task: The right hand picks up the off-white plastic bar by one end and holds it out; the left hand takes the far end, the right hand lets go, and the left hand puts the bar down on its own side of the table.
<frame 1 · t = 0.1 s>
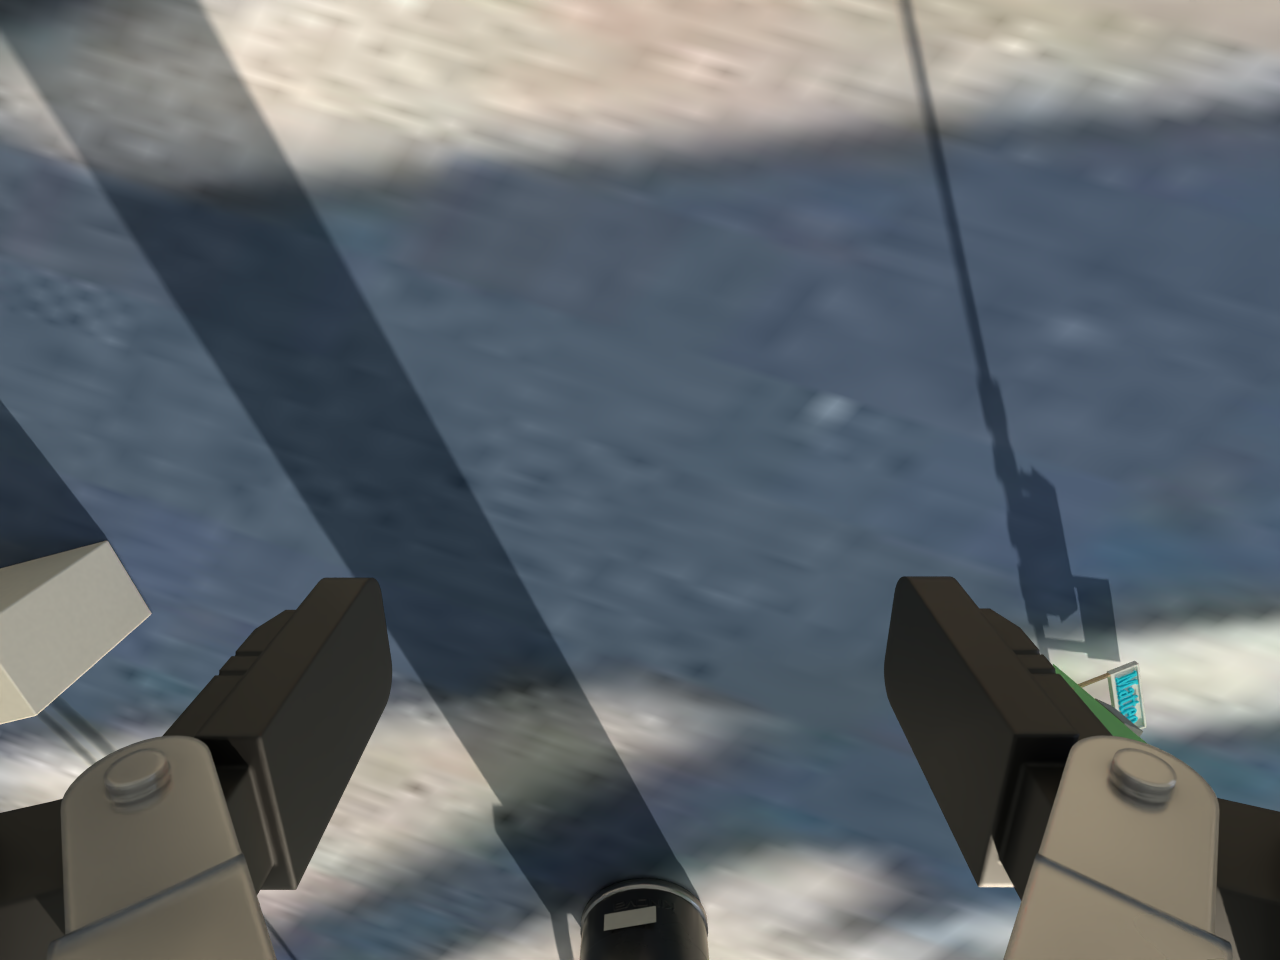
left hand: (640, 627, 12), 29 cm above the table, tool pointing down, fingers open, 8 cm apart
toy game set: (1261, 738, 49), on the table
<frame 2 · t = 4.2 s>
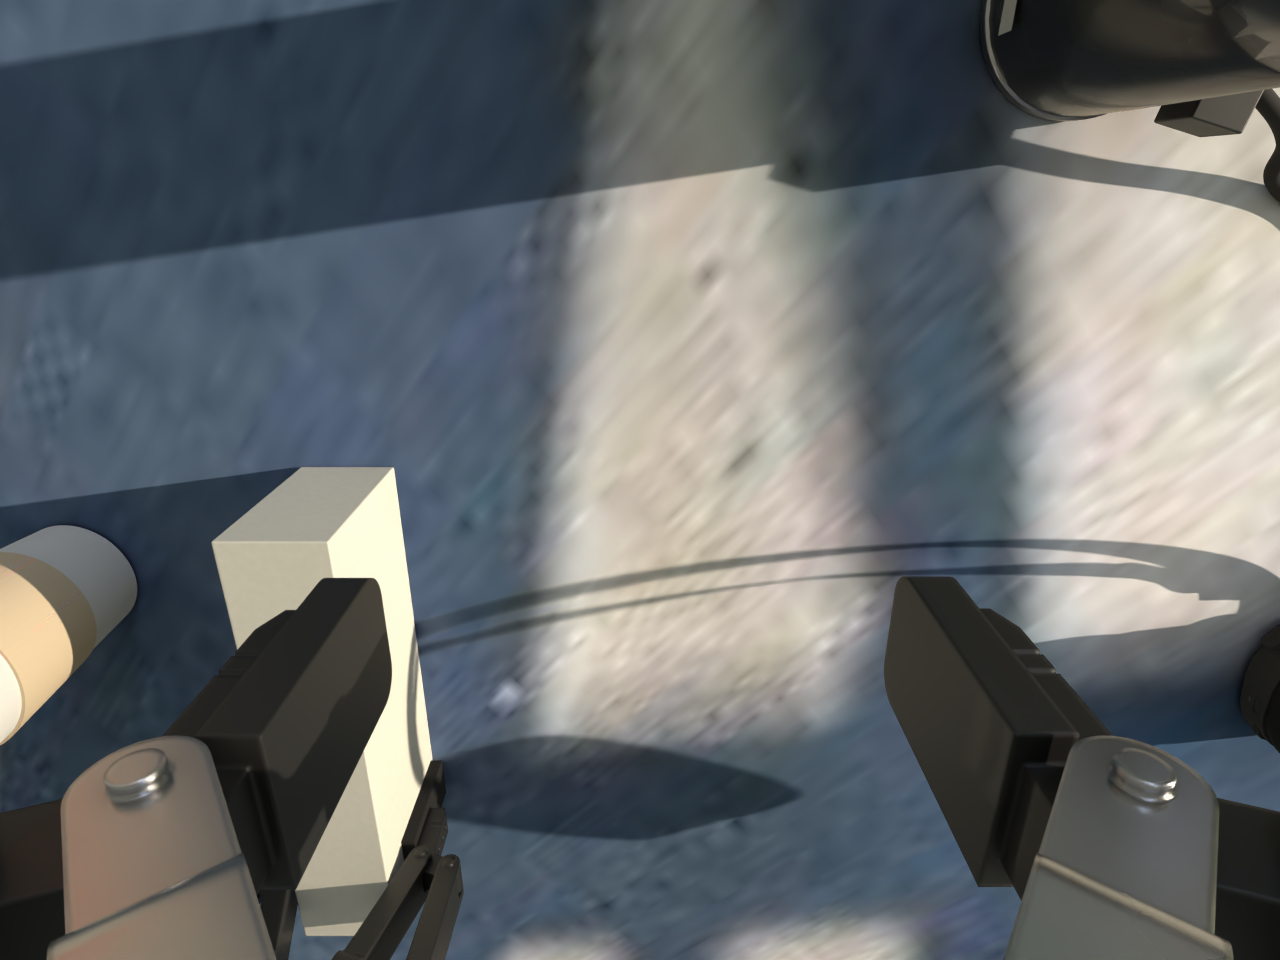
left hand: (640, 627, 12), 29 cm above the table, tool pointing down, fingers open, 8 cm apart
coffee cup: (81, 575, 44), on the table
bar: (377, 654, 46), on the table, touching right hand
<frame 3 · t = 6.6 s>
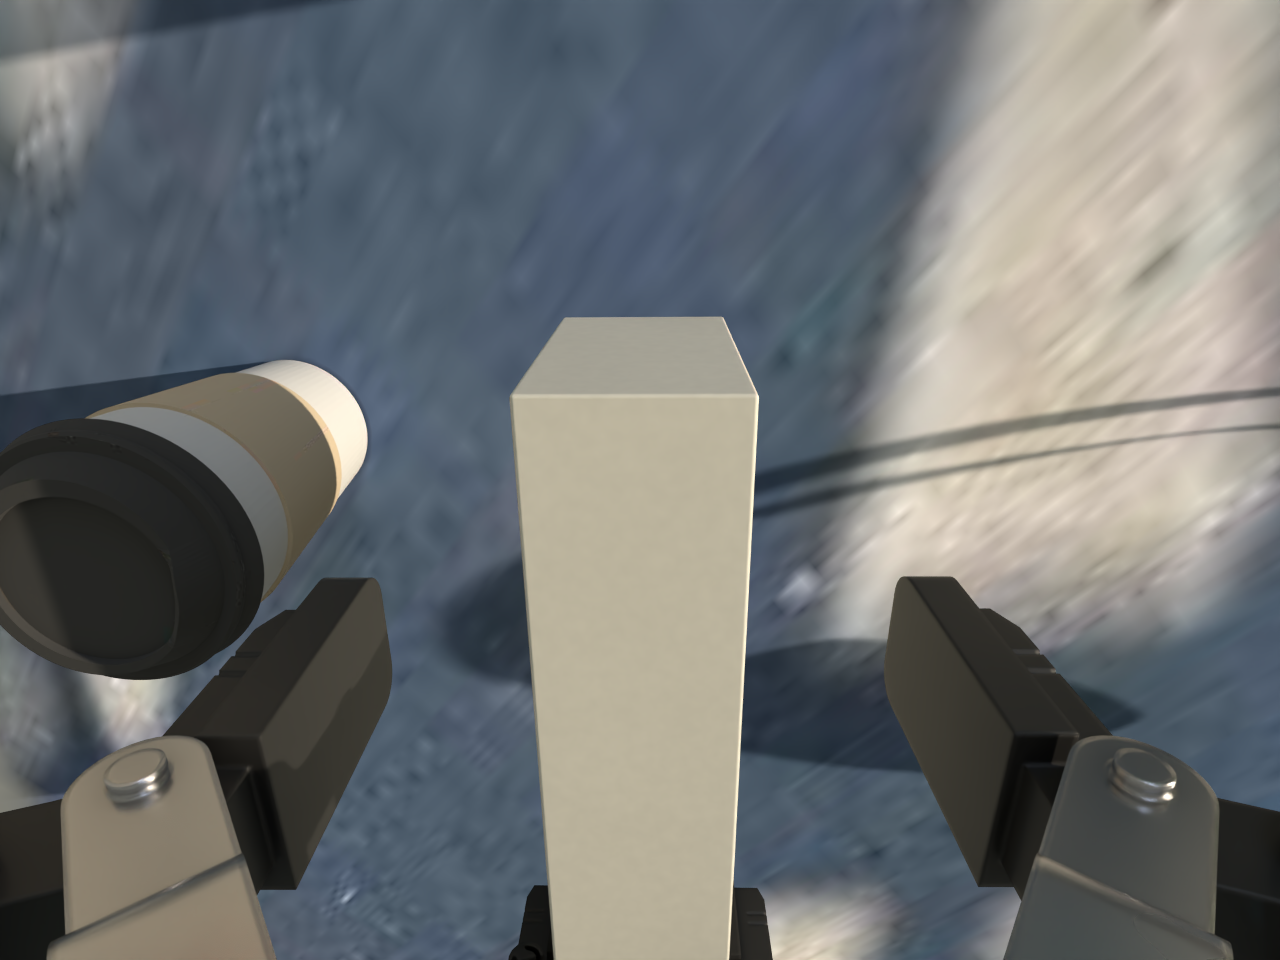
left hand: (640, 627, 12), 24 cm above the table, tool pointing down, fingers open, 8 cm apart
coffee cup: (299, 428, 36), on the table
bar: (645, 640, 29), point 9 cm above the table, touching right hand
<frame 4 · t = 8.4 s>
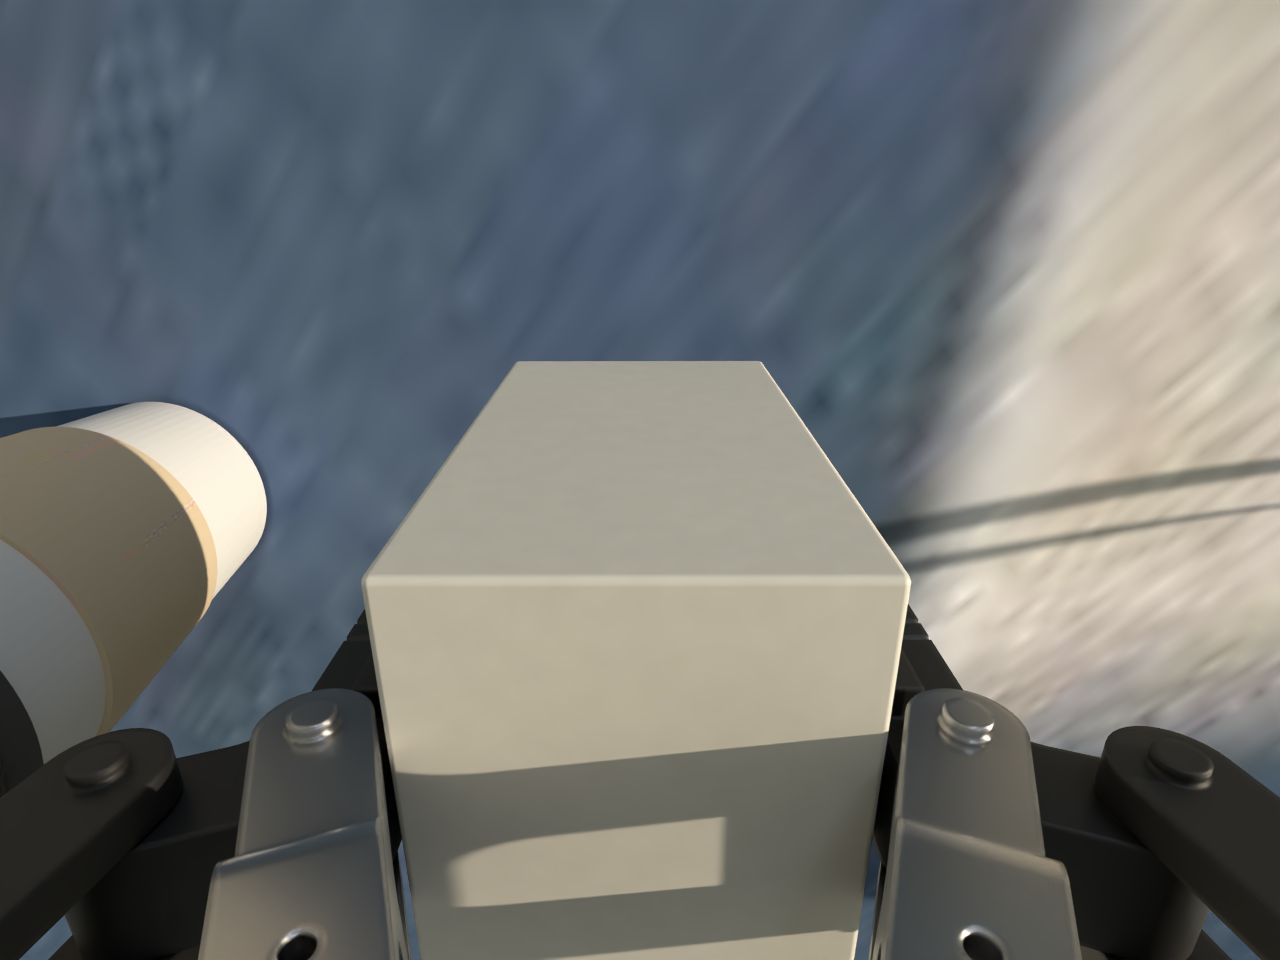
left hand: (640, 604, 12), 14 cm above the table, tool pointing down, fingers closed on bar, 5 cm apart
coffee cup: (175, 491, 27), on the table
bar: (639, 811, 20), point 9 cm above the table, touching left hand, right hand
when the right hand's fingers open (10 cm above the table, at t = 9.3 s): bar stays where it is, held by the left hand.
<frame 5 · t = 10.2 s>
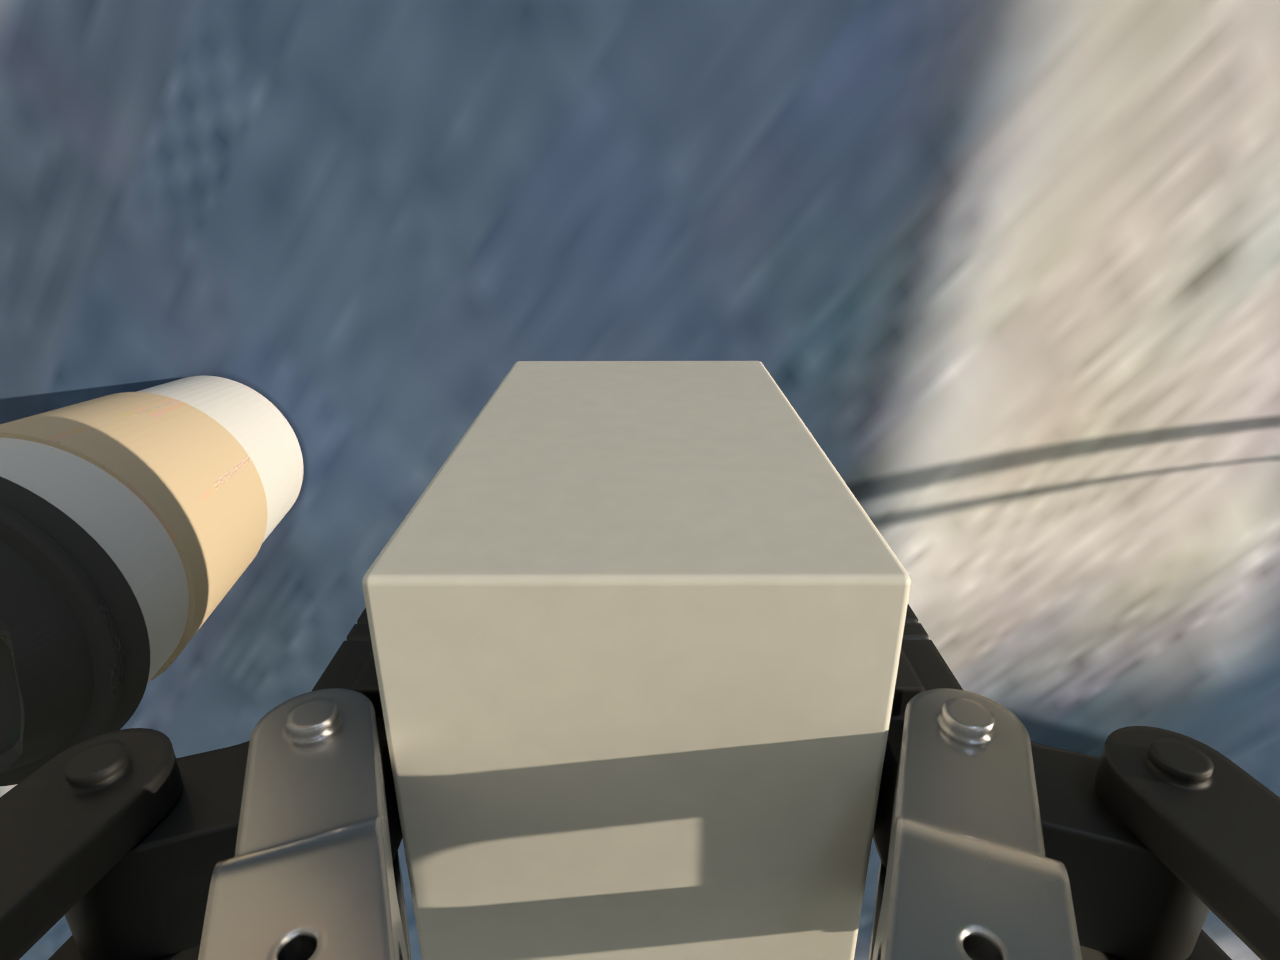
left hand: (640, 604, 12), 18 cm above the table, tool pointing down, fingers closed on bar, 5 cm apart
coffee cup: (222, 455, 31), on the table
bar: (639, 811, 20), point 13 cm above the table, touching left hand
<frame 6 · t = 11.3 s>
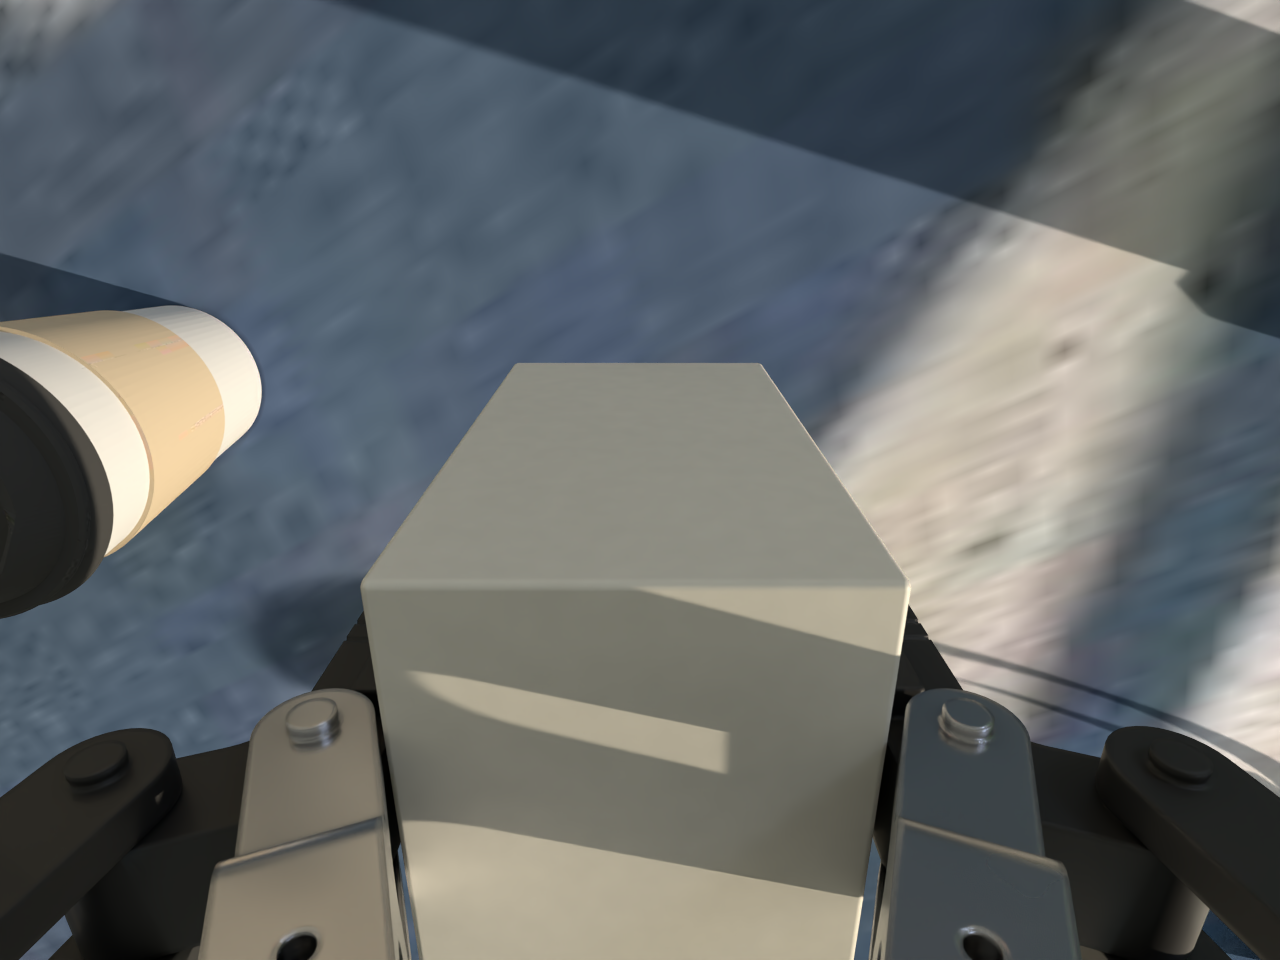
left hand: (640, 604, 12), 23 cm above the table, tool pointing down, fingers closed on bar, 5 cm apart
coffee cup: (189, 379, 34), on the table
bar: (638, 813, 20), point 18 cm above the table, touching left hand
when the left hand's fingers open (6 cm above the table, at t = 14.5 s): bar stays where it is, on the table.
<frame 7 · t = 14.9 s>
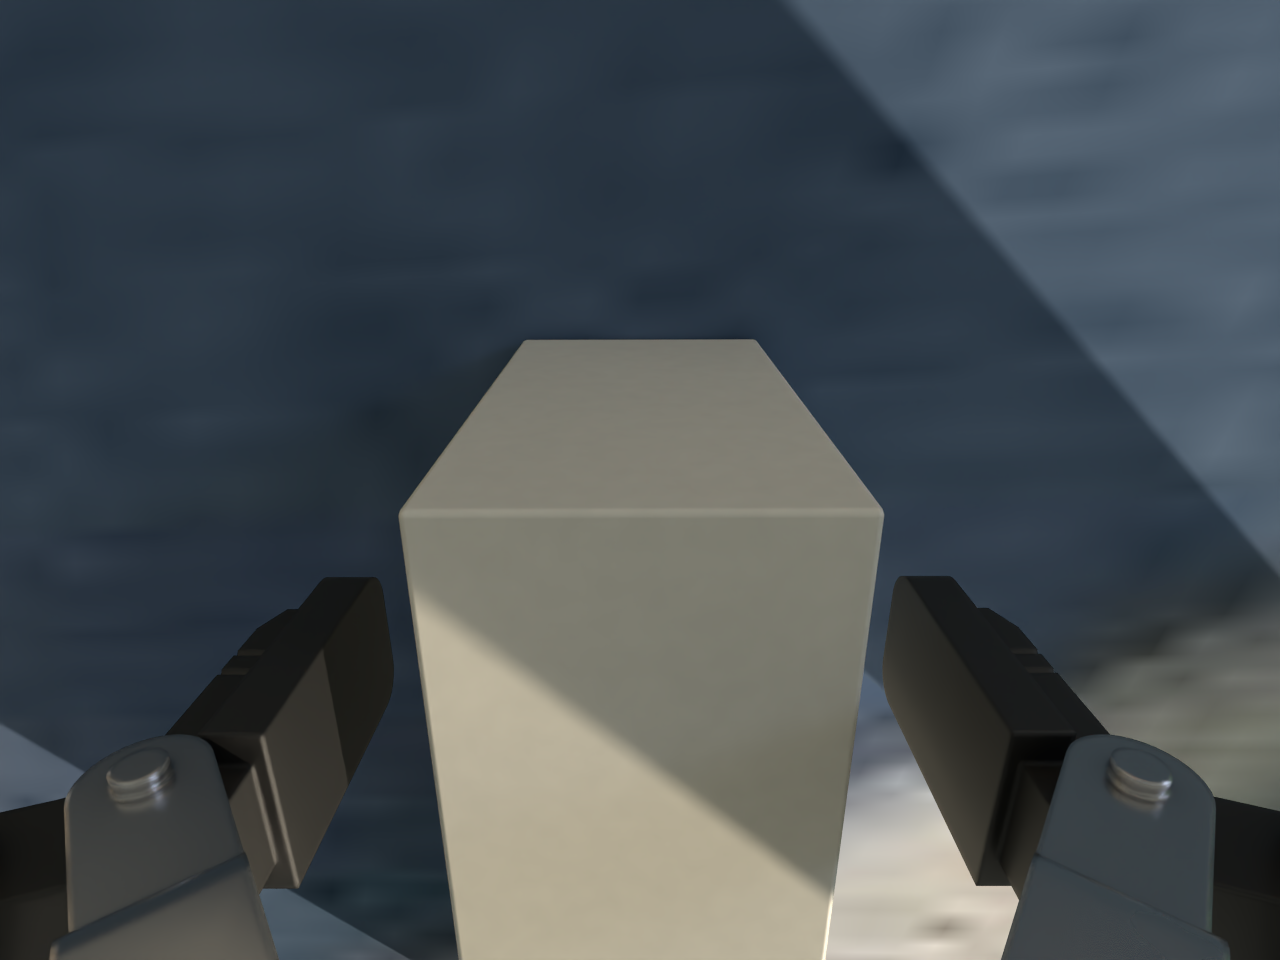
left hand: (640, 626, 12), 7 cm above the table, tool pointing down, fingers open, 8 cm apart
bar: (640, 773, 21), on the table
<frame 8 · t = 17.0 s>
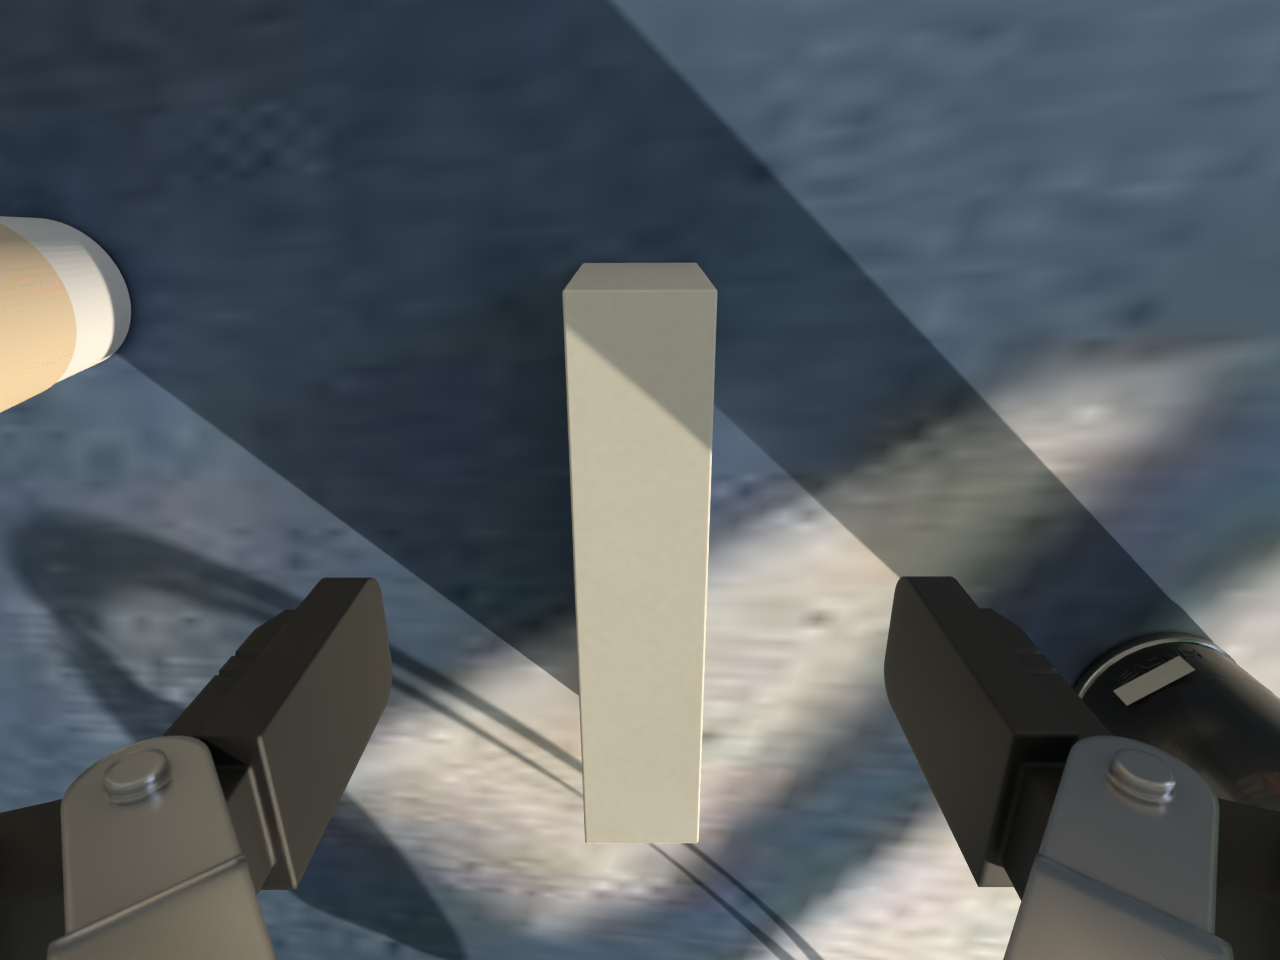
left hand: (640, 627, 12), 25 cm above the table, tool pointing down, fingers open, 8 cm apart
coffee cup: (58, 294, 34), on the table
bar: (640, 513, 38), on the table
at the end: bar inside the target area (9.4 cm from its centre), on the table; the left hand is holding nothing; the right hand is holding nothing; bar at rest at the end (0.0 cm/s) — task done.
